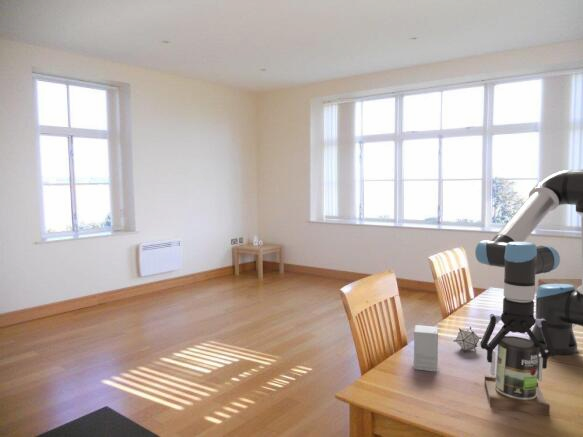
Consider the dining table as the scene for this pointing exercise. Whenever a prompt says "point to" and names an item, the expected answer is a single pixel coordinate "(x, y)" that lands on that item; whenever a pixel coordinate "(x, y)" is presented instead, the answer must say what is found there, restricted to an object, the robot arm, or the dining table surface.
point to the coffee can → (517, 368)
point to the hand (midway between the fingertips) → (515, 376)
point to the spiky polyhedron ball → (467, 339)
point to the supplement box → (425, 348)
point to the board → (515, 400)
